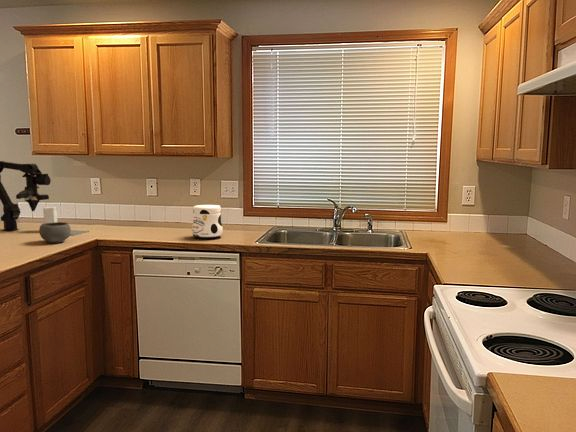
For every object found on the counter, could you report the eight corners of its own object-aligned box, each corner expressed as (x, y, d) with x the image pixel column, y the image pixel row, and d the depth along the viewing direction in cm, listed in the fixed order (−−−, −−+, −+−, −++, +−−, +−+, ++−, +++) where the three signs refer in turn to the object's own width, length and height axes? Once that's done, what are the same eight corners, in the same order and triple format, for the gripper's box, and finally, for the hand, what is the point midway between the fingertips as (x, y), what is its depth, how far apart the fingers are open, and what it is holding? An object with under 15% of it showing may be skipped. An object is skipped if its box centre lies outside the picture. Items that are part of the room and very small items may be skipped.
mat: (49, 234, 286) (49, 233, 286) (65, 230, 300) (65, 229, 300) (74, 235, 283) (74, 234, 283) (89, 231, 296) (89, 230, 296)
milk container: (187, 239, 275) (187, 207, 273) (197, 234, 292) (197, 204, 290) (217, 240, 273) (217, 208, 270) (226, 235, 290) (225, 204, 287)
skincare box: (55, 232, 291) (54, 207, 289) (44, 233, 289) (42, 207, 287) (58, 230, 299) (57, 206, 297) (47, 230, 297) (46, 206, 295)
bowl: (62, 238, 273) (61, 220, 272) (76, 242, 264) (75, 223, 262) (34, 242, 262) (33, 223, 260) (48, 246, 252) (47, 226, 251)
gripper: (7, 185, 286) (9, 212, 289) (34, 186, 282) (36, 213, 284) (22, 184, 297) (24, 209, 299) (48, 185, 292) (50, 211, 294)
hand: (33, 211), depth 294 cm, fingers closed
